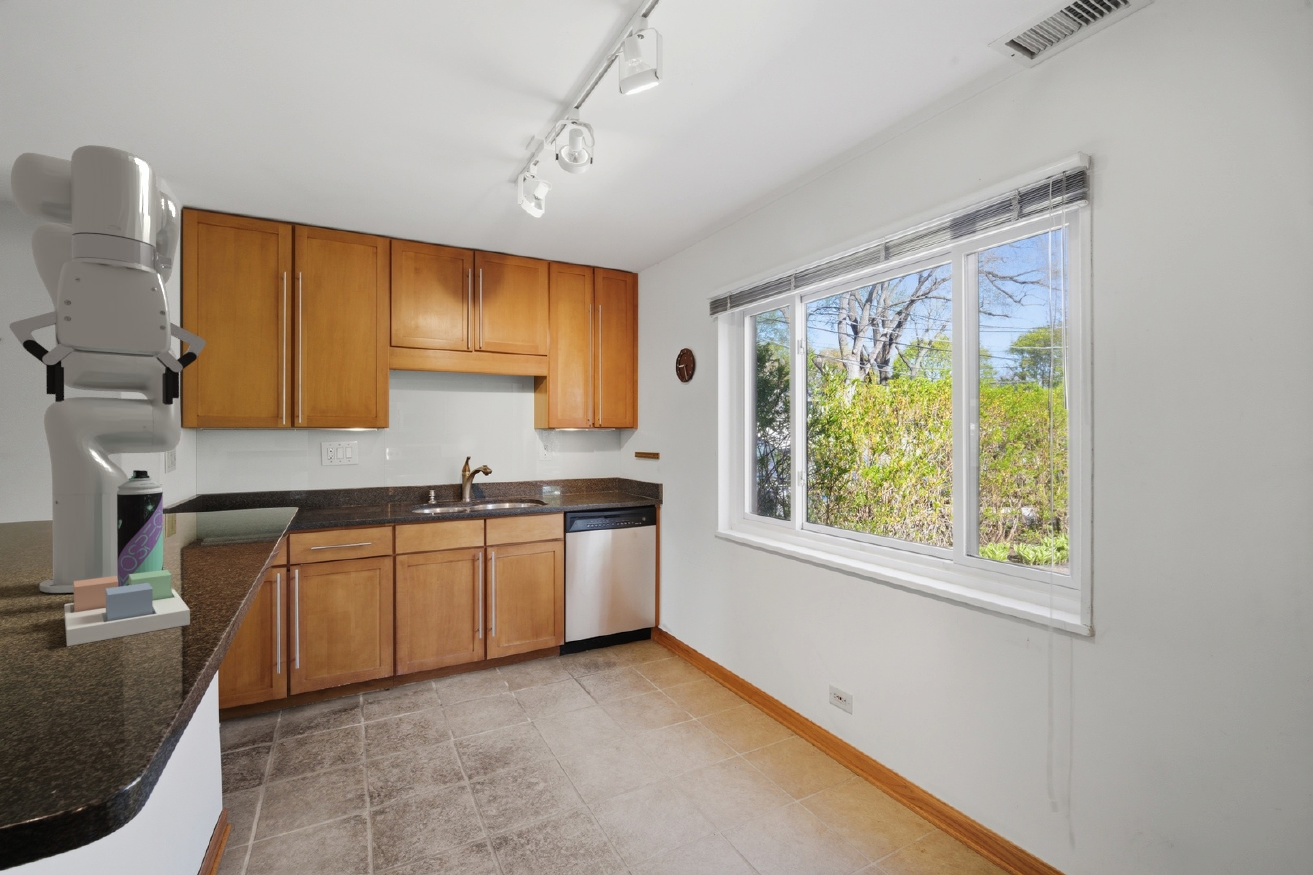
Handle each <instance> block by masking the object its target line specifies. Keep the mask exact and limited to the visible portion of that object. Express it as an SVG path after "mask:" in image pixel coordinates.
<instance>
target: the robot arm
mask: <svg viewBox="0 0 1313 875" xmlns="http://www.w3.org/2000/svg"><path fill="white" fill-rule="evenodd" d="M70 159H71V160H68V159H63V158H58V157H54V156H50V155H46V154H45V155H44V154H41V153H34V152H24V153H22V154H20V155H18V157H16V159H15V160H14V161H13V166H12V168H11V172H10V190H11V194H12V198H13V201H14V203H15V205H16V207H17V209H18V210H19V211H20V212H21V213H22V214H23V215H24V216H25V217H29V218H34V219H38V220H44V221H48V223H42V224H40V225H38V226H36V227H35V228H34V230H33V232H32V235H31V249H32V255H33V260H34V264H35V266H36V269H37V271H38V274H39V277H40V279H41V281H42V283H43V285H44V287H45V289H46V291H47V293H48V295H49V297H50V300H51V301H52V304H53V308H54V311H51V312H47V313H43V314H42V313H41V314H39V315H36V316H35V315H34V316H32V317H28V318H24V319H20V320H16V321H13V322H11V323H10V324H9V329H10V330H11V332H12V333H13V334H14V336H15V337H16V339H17V341H18V342H19V343H20V345H21V346H22V347H23V349H24V350H25V351H27V352H28V353H30V354H31V355H32V356H33V357H34V358H36V359H37V360H38V361H39V362H41V363H42V364H43V365H45V368H46V369H45V371H46V377H45V378H46V395H55V397H54V398H55V399H54V402H53V403H51V404H50V405H49V406H48V407H47V408H46V410H45V413H44V415H43V416H44V417H43V424H44V431H45V435H46V440H47V445H48V450H49V456H50V465H51V483H52V484H51V485H52V489H51V490H52V491H51V492H52V493H51V494H52V503H51V504H52V507H51V508H52V577H50V578H48V579H45V580H43V581H42V582H40V583H39V591H41V592H42V593H48V594H68V593H69V594H70V593H74V581H80V580H88V579H96V578H104V577H112V576H116V577H117V491H118V490H119V489H118V486H121V485H122V484H124V483H126V482H128V481H129V480H128V479H129V477H128V475H127V474H126V472H125V471H124V470H123V469H122V468H121V467H120V466H118V465H117V464H116V463H114V462H113V461H112V460H111V459H110V458H109V455H118V454H150V453H153V454H154V453H156V454H157V453H167V452H169V451H172V450H174V449H175V448H177V446H178V445H179V443H180V441H181V433H182V420H181V419H182V415H181V414H182V413H181V396H180V394H181V393H180V372H182V371H183V370H185V369H186V368H187V367H188V366H189V365H191V364H192V363H194V362H195V361H196V360H197V358H198V356H199V355H200V354H201V353H202V351H203V349H204V348H205V347H206V345H207V341H206V340H205V339H204V338H202V337H200V336H198V335H196V334H194V333H192V332H190V331H188V330H186V329H184V328H183V327H180V326H178V325H176V324H174V323H172V322H171V317H170V306H169V305H170V304H169V299H168V298H169V297H168V292H167V288H166V284H167V283H168V281H169V280H170V278H171V276H172V272H173V267H174V261H175V256H176V250H177V246H178V242H179V235H180V229H181V228H180V226H181V223H180V222H181V219H180V213H179V209H178V206H177V205H176V203H175V201H174V199H173V198H172V197H171V196H170V195H168V194H167V193H165V192H162V191H161V190H159V189H158V188H159V187H158V186H157V179H156V172H155V170H154V168H153V166H151V164H150V163H149V162H148V161H146V160H145V159H143V157H141V156H138V155H136V154H134V153H132V152H128V151H125V150H122V149H118V148H114V147H110V146H103V145H96V144H95V145H93V144H92V145H91V144H89V145H83V146H82V145H81V146H79V147H78V148H76V149H75V150H74V151H73V152H72V155H71V158H70ZM50 326H55V327H54V328H55V332H54V333H55V347H53V348H52V349H51V350H50V351H49V350H48V349H46V348H45V347H44V346H43V345H41V344H40V343H39V342H37V341H36V339H35V337H34V336H33V334H32V332H34V331H36V330H39V329H44V328H48V327H50ZM172 337H174V338H176V339H178V340H180V341H181V342H184V343H186V344H188V348H187V350H186V352H185V353H184V354H183V355H182V356H180V357H179V358H177V356H176V353H175V351H174V349H173V348H172V347H171V345H172ZM65 386H67V387H69V388H72V389H75V390H82V391H96V392H115V393H116V392H117V393H119V392H120V393H140V394H142V395H144V396H145V398H146V399H144V398H122V397H120V398H119V397H93V396H81V397H80V396H79V397H77V396H75V397H68V398H65Z"/></svg>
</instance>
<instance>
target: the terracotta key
mask: <svg viewBox="0 0 1313 875" xmlns="http://www.w3.org/2000/svg"><path fill="white" fill-rule="evenodd" d="M113 587H118V580H117V577H116V576H112V577H104V578H96V579H88V580H80V581H74V592H73V603H74V612H81V611H88V610H95V609H101V608H106V588H113Z"/></svg>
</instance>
